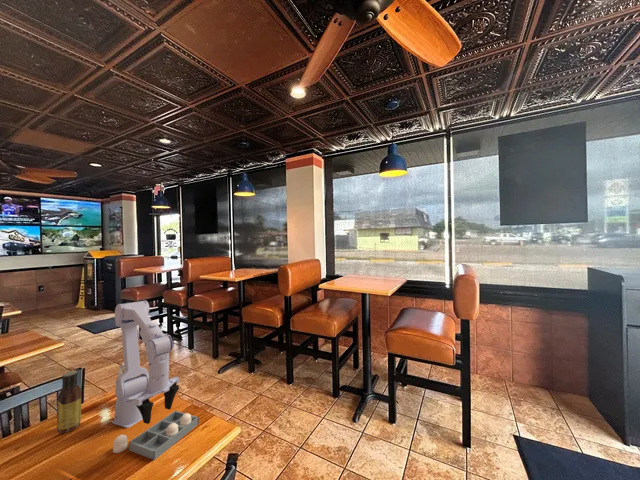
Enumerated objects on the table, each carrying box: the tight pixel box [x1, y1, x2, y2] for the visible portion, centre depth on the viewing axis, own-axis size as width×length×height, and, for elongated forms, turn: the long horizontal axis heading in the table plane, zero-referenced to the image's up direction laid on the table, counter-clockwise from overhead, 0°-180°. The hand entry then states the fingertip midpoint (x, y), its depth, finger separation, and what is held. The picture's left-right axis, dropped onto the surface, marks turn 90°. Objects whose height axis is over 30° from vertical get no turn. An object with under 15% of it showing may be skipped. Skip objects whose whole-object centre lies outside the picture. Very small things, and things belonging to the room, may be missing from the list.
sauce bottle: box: [56, 370, 82, 434], centre depth 92 cm, size 6×6×20 cm
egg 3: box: [180, 412, 192, 426], centre depth 91 cm, size 4×4×5 cm
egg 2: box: [166, 423, 178, 437], centre depth 86 cm, size 4×4×5 cm
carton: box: [128, 410, 200, 461], centre depth 87 cm, size 12×17×3 cm
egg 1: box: [112, 434, 128, 454], centre depth 81 cm, size 4×4×5 cm
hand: (157, 415), depth 85 cm, fingers open, 7 cm apart
